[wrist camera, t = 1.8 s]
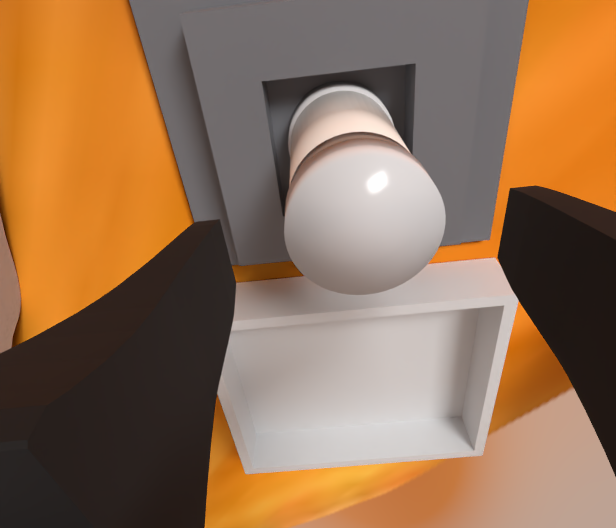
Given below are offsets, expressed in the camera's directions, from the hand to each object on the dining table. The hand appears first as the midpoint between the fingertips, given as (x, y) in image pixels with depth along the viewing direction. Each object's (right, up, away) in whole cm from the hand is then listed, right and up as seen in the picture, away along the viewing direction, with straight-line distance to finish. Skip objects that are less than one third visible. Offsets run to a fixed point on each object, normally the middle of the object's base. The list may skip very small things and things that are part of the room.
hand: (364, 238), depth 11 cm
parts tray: (+1, -6, +15) cm, 16 cm away
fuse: (0, +5, +7) cm, 8 cm away
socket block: (0, +5, +7) cm, 9 cm away
